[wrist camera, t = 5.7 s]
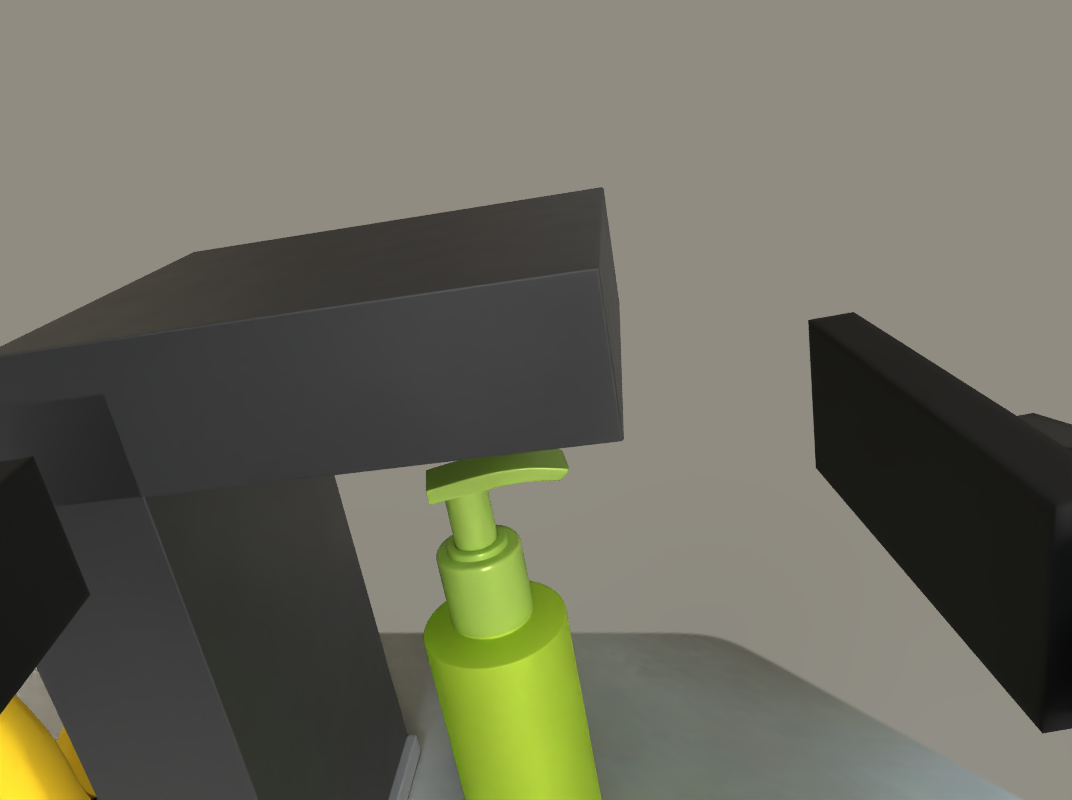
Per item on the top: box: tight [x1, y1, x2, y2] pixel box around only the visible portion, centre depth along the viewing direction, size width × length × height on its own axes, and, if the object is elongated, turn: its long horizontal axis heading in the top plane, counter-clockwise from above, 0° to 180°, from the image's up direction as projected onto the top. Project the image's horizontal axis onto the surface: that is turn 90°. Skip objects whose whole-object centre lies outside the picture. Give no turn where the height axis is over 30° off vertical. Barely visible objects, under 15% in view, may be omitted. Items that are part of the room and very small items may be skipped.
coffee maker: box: [0, 187, 624, 800], centre depth 35 cm, size 22×14×28 cm, turn 85°
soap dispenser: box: [424, 449, 602, 800], centre depth 36 cm, size 6×7×20 cm
